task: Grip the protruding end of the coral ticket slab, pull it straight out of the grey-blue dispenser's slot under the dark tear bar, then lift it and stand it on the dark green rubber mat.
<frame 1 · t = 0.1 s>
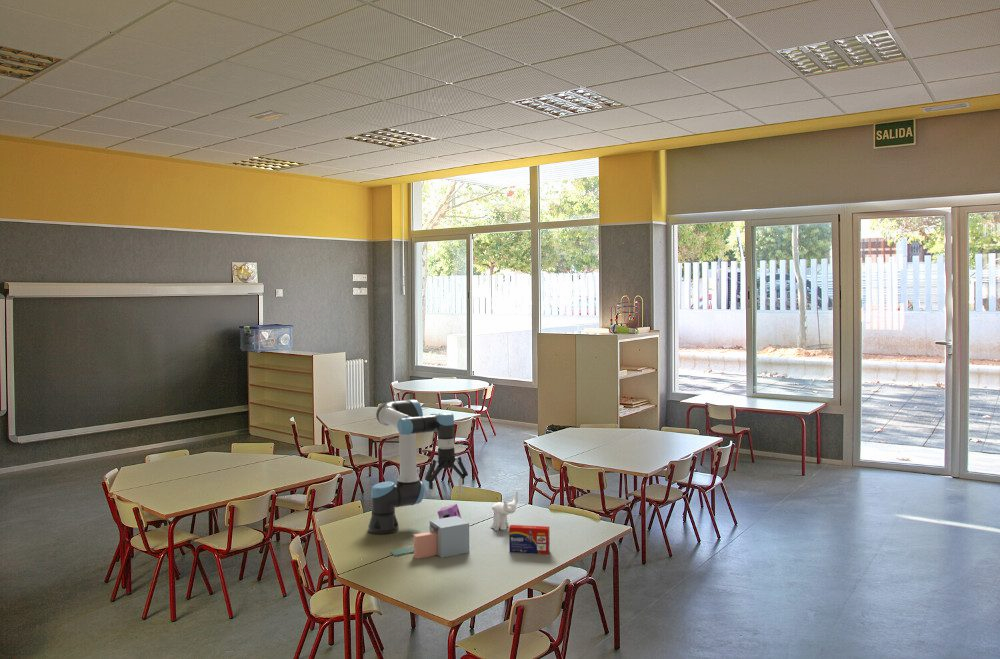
hand: (446, 494, 331), 28 cm above the table, fingers open, 13 cm apart
toy animal: (503, 527, 370), on the table
toy: (452, 536, 358), on the table
mat: (410, 550, 337), on the table
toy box: (529, 552, 334), on the table
dispenser: (449, 550, 337), on the table
ticket: (431, 554, 333), on the table
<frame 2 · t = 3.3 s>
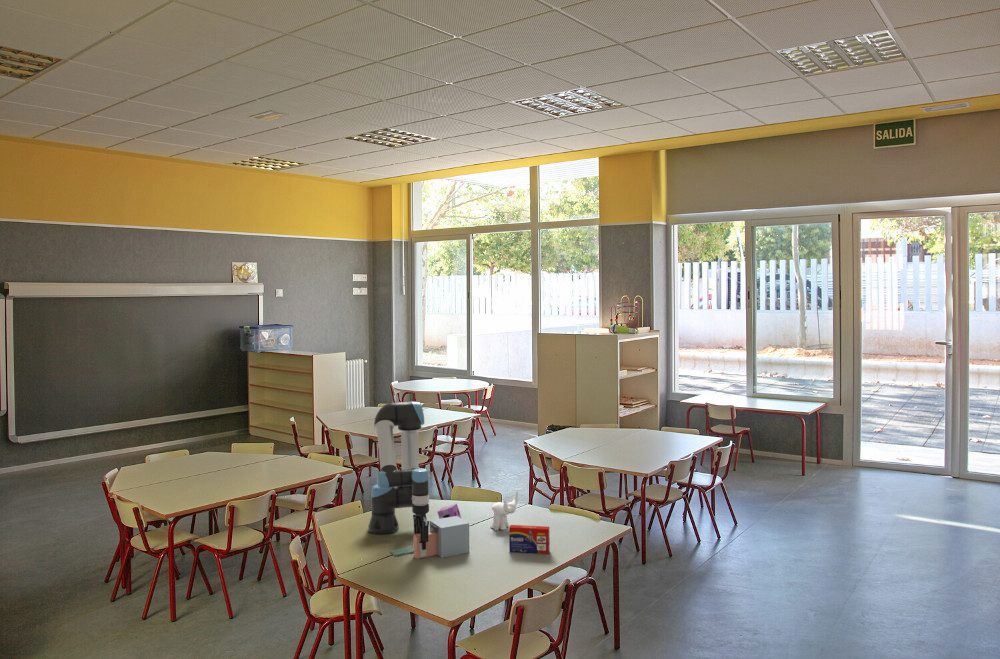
hand: (421, 554, 330), 1 cm above the table, fingers closed on ticket, 3 cm apart
ticket: (431, 554, 333), on the table, touching gripper
everything else where it was.
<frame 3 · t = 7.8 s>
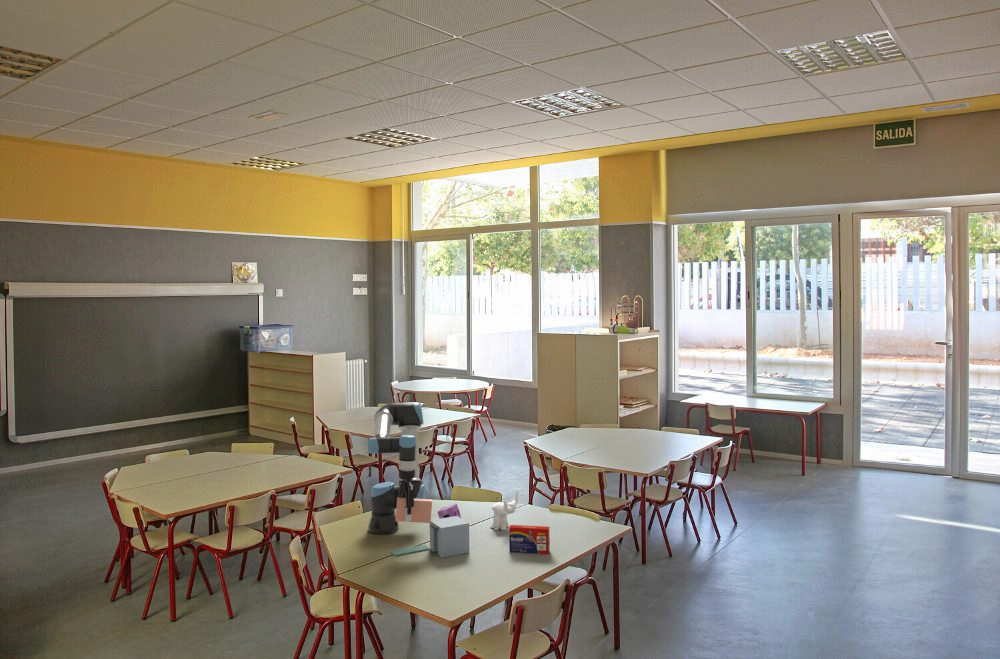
hand: (406, 519, 335), 15 cm above the table, fingers closed on ticket, 5 cm apart
ticket: (412, 521, 335), point 14 cm above the table, tilted 6°, touching dispenser, gripper
everything else where it was.
when the fingers open (2 cm above the table, at t = 10.2 s): ticket drops 2 cm, resting on mat.
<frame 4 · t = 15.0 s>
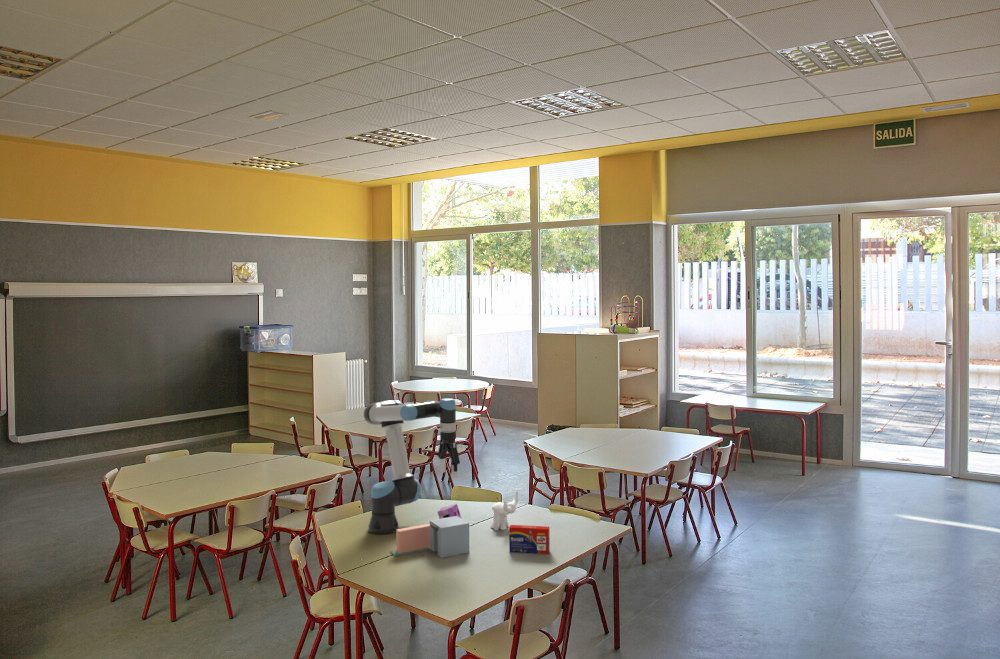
hand: (448, 475, 350), 32 cm above the table, fingers open, 13 cm apart
ticket: (414, 548, 338), point 1 cm above the table, touching mat
everything else where it was.
at the end: ticket inside the target area on the mat (2.1 cm from its centre), point 0.6 cm above the mat's base; the gripper is holding nothing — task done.
